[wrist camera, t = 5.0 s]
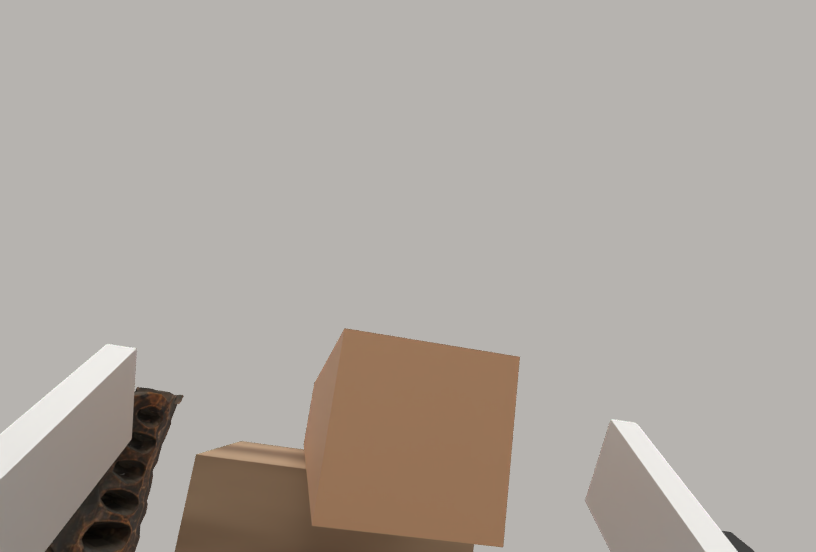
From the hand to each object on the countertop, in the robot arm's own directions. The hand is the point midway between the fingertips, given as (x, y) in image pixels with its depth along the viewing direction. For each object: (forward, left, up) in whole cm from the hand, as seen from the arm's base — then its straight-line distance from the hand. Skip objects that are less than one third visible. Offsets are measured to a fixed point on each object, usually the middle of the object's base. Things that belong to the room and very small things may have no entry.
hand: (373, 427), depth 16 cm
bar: (-2, +7, -2) cm, 8 cm away
